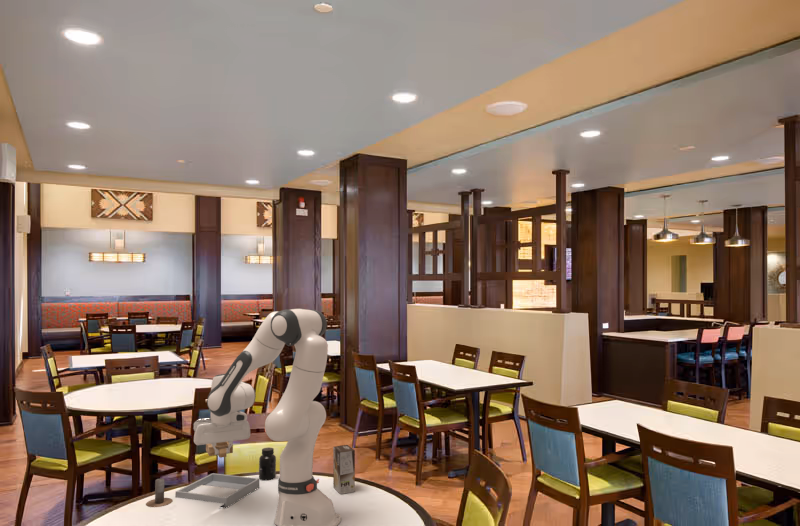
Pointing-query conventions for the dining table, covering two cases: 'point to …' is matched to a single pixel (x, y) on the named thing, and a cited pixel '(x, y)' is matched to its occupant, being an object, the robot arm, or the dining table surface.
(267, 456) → the supplement bottle
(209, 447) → the tabbed frame
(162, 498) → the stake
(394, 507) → the dining table surface
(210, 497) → the tray
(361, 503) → the dining table surface
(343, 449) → the coffee box
